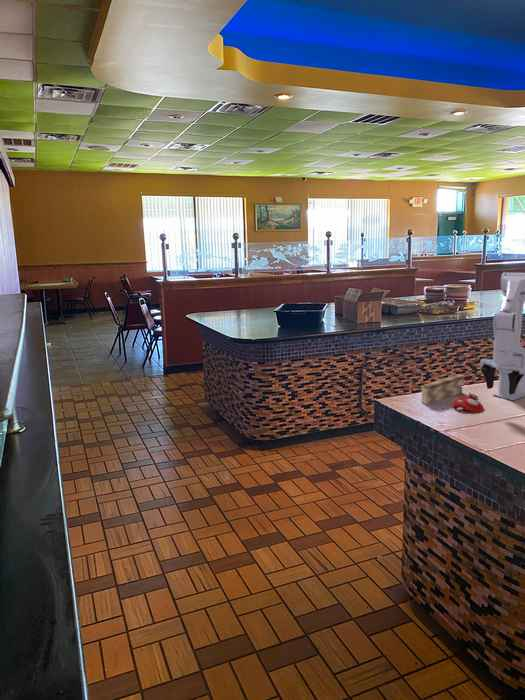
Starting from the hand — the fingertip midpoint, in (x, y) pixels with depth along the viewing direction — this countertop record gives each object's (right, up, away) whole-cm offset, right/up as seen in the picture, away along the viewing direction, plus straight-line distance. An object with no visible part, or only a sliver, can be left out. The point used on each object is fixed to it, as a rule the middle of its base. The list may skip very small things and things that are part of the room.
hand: (500, 390), depth 171 cm
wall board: (-12, -4, +21) cm, 25 cm away
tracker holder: (-5, -7, +11) cm, 14 cm away
